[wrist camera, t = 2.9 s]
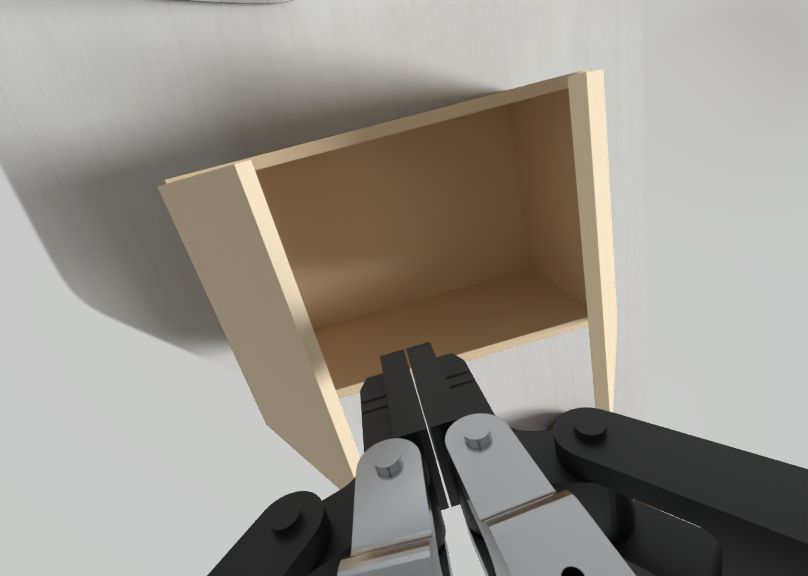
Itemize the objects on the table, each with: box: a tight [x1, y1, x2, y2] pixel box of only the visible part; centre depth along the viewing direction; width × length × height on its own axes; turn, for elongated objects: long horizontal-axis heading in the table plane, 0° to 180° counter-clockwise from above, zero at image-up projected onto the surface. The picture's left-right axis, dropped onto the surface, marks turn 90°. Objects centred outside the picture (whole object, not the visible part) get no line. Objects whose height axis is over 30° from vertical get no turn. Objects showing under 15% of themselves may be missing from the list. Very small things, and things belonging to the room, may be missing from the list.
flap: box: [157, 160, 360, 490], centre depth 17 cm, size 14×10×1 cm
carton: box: [165, 68, 592, 398], centre depth 27 cm, size 14×21×10 cm, turn 104°
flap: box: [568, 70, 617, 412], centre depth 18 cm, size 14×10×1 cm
